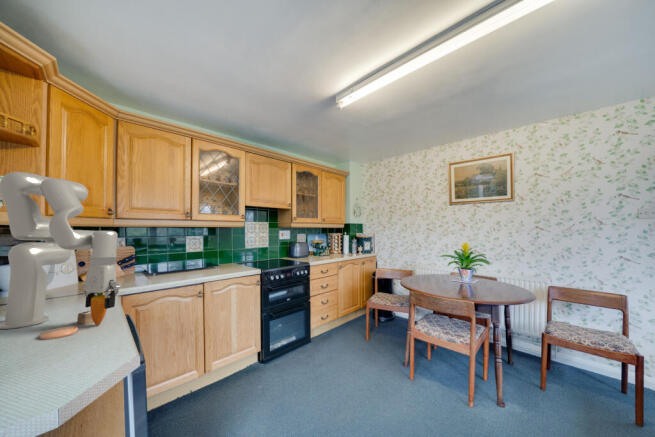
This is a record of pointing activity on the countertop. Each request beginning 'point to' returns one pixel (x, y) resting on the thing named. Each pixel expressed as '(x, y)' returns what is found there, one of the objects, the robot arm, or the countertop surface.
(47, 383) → the countertop surface
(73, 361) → the countertop surface
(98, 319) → the carrot
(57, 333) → the peach glossy dome
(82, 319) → the letter cube
